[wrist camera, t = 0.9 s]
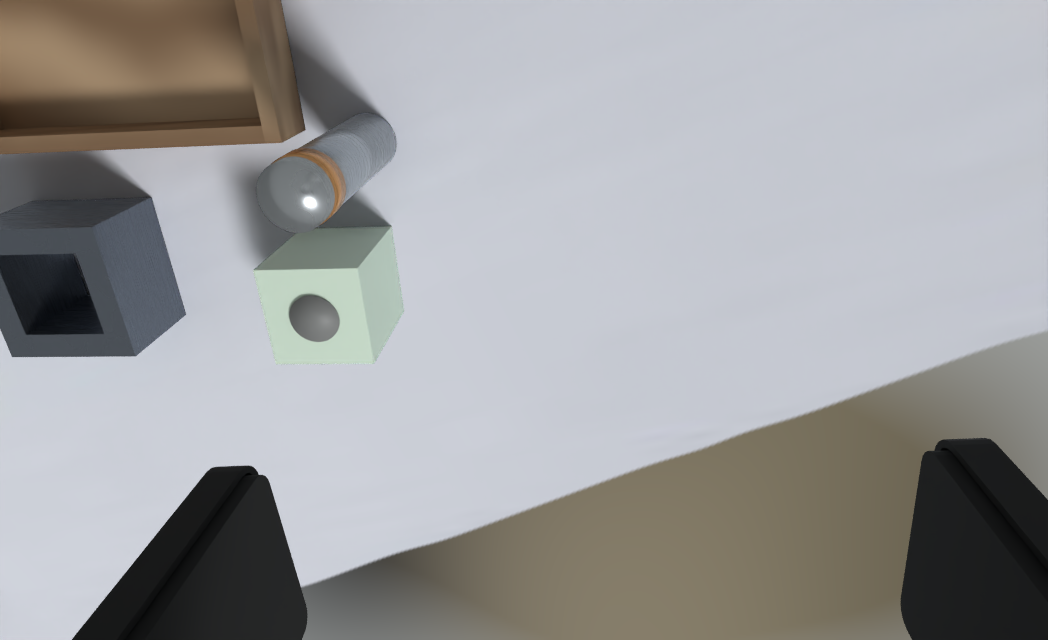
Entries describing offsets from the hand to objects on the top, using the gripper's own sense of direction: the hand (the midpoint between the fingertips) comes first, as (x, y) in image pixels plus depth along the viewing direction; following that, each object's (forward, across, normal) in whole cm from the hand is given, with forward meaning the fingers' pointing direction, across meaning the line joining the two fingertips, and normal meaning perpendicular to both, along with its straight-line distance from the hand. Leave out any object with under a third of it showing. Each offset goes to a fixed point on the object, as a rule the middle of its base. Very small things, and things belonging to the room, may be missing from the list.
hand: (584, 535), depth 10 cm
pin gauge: (+27, +11, -2) cm, 30 cm away
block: (+28, +27, +4) cm, 39 cm away
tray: (+27, +22, -9) cm, 36 cm away
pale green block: (+28, +13, +5) cm, 31 cm away
